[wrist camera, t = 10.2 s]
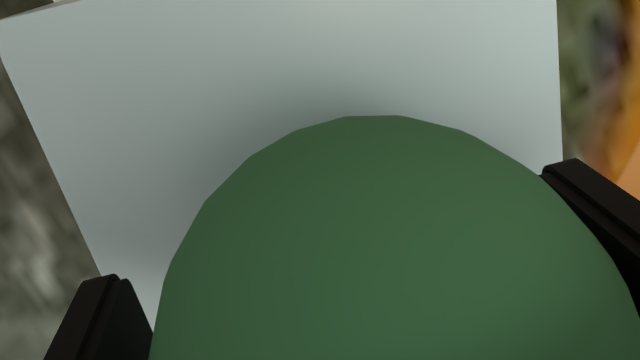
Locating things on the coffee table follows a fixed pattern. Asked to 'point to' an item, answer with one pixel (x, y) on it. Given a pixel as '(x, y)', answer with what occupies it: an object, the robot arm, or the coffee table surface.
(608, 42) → the coffee table surface
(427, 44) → the brick tower
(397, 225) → the alien toy
